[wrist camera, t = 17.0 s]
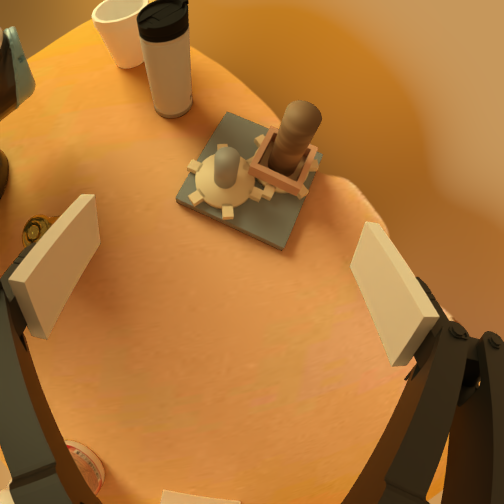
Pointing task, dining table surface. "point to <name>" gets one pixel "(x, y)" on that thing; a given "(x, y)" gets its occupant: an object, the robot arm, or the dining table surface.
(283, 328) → the dining table surface
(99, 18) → the foam cup
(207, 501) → the milk
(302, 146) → the wooden dowel peg
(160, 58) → the travel mug
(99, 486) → the fruit juice
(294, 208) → the gear board
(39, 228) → the salt shaker
